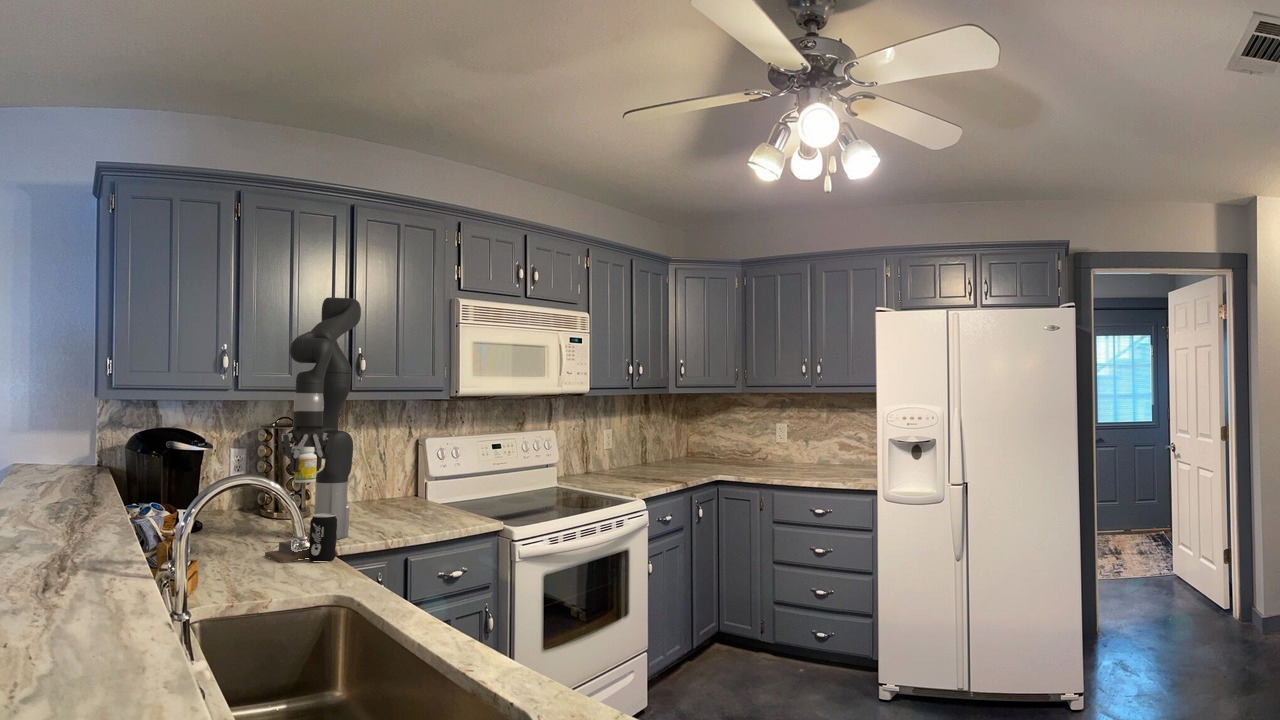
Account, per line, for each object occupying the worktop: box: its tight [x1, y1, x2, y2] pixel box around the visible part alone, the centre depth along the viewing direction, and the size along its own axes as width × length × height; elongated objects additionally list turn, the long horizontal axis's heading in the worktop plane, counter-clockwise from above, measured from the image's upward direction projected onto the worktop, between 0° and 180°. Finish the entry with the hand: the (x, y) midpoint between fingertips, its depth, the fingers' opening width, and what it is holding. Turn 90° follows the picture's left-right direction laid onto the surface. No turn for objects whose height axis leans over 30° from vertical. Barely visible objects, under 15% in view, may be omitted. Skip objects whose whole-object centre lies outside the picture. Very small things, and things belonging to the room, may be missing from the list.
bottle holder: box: [264, 537, 310, 563], centre depth 191 cm, size 14×11×4 cm
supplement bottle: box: [294, 446, 317, 484], centre depth 193 cm, size 5×5×10 cm
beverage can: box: [308, 513, 338, 562], centre depth 186 cm, size 7×7×12 cm
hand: (305, 471), depth 193 cm, fingers closed on supplement bottle, 5 cm apart
